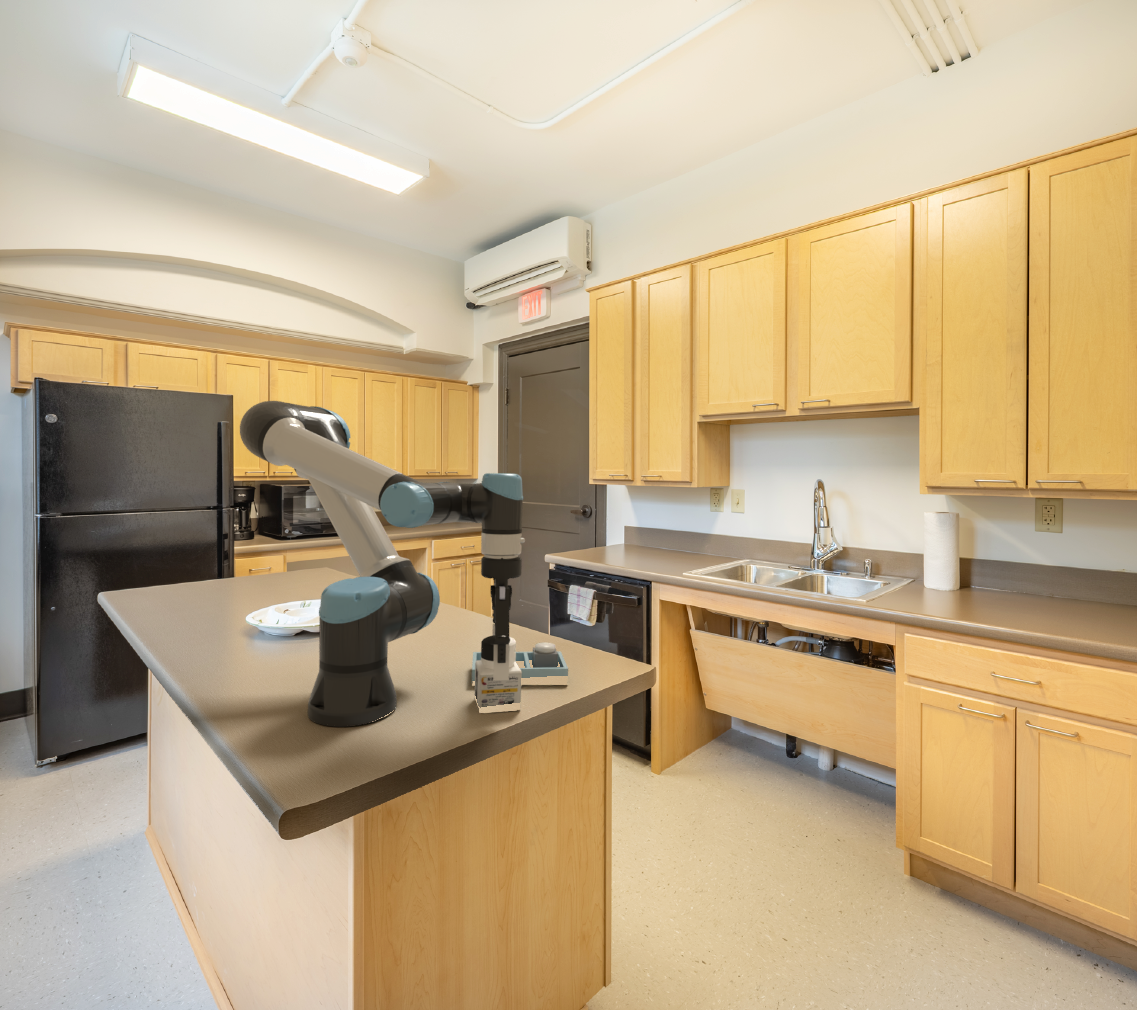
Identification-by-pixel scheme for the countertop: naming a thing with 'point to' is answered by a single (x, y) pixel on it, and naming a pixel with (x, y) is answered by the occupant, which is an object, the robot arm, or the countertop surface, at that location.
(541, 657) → the tray
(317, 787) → the countertop surface
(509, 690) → the container
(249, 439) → the robot arm
